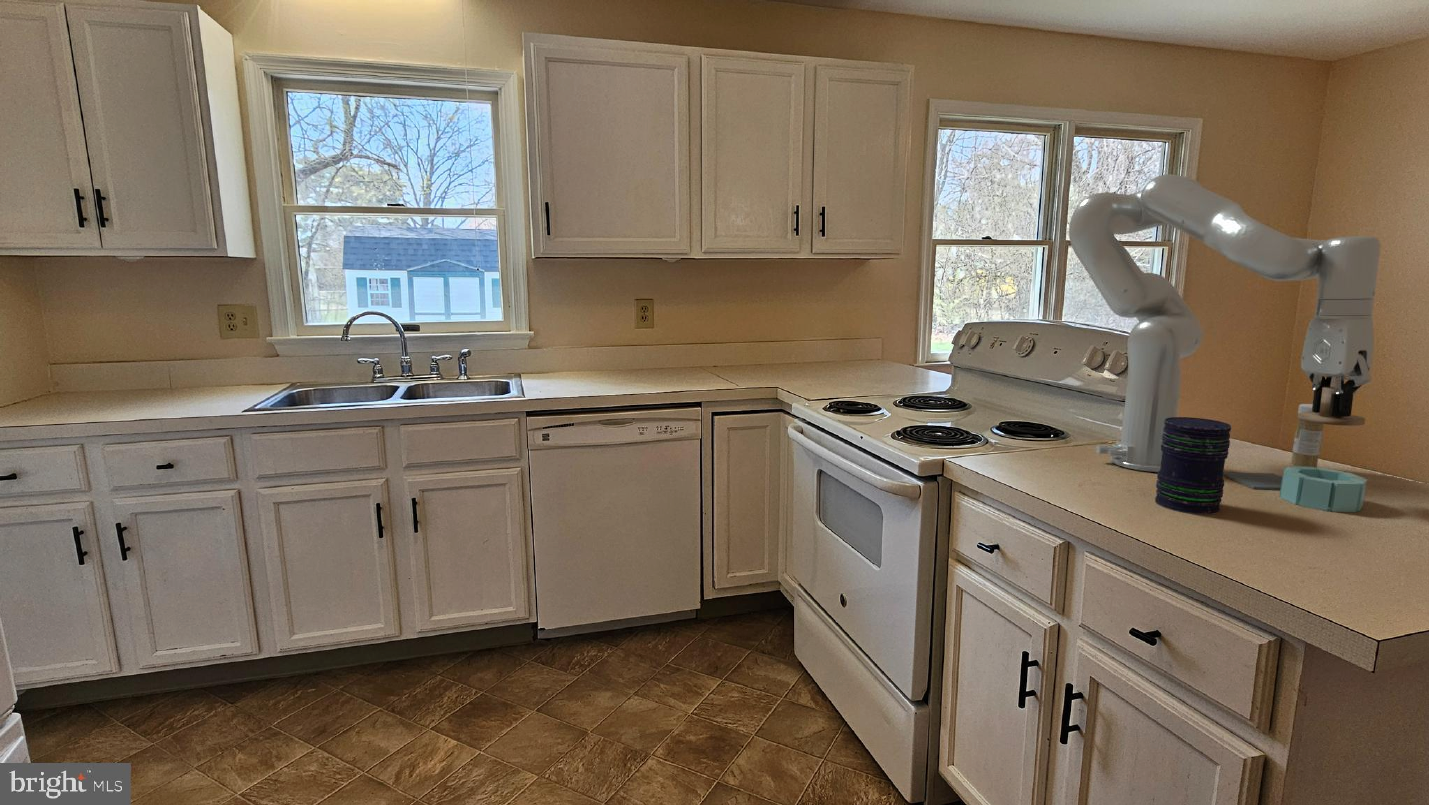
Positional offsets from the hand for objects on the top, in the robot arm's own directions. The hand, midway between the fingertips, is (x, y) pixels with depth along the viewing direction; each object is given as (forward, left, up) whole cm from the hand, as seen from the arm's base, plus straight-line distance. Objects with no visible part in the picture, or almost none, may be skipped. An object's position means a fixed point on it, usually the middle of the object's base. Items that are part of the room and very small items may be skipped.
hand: (1331, 413), depth 126 cm
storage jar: (-25, -5, -16) cm, 30 cm away
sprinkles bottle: (+13, +22, -16) cm, 30 cm away
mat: (-2, +11, -16) cm, 19 cm away
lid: (0, 0, -1) cm, 1 cm away
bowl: (0, -1, -16) cm, 16 cm away
